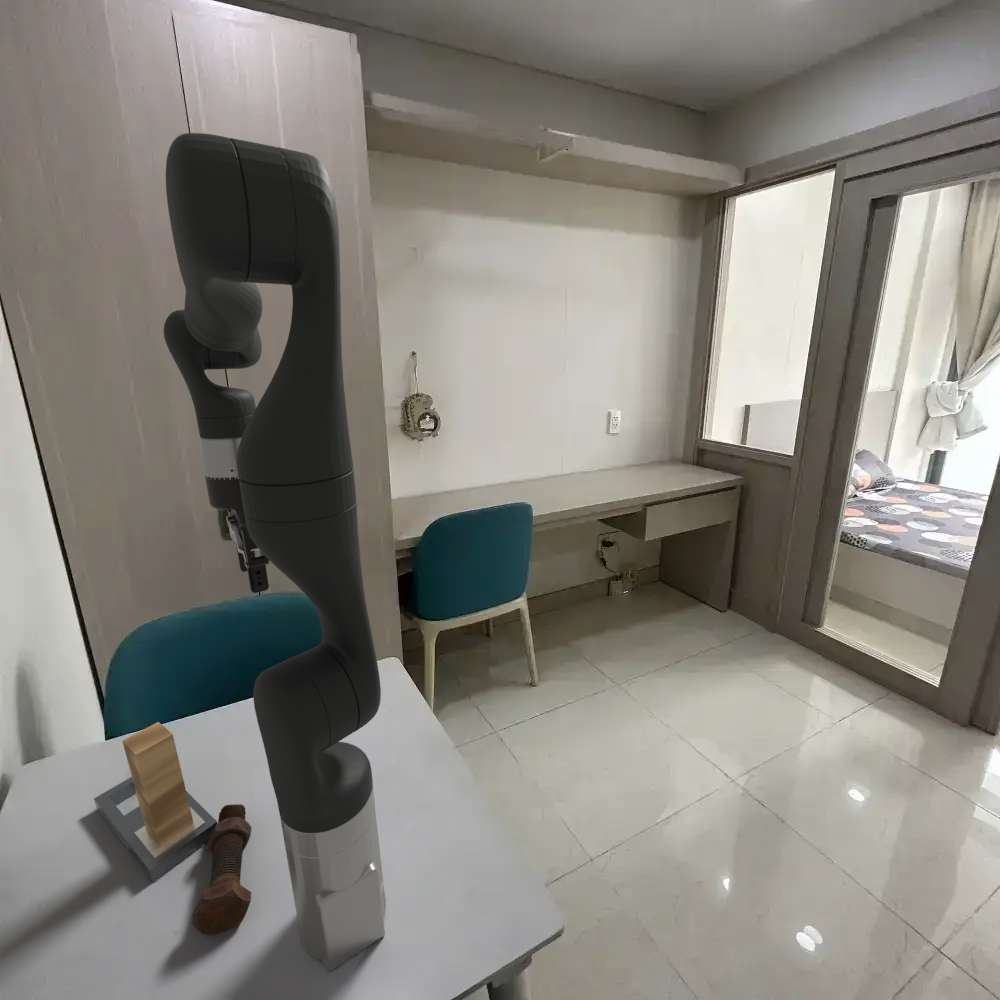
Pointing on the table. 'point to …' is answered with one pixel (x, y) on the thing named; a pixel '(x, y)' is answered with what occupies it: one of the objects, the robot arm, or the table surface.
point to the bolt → (225, 875)
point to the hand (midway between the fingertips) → (254, 579)
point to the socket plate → (139, 839)
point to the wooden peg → (158, 782)
